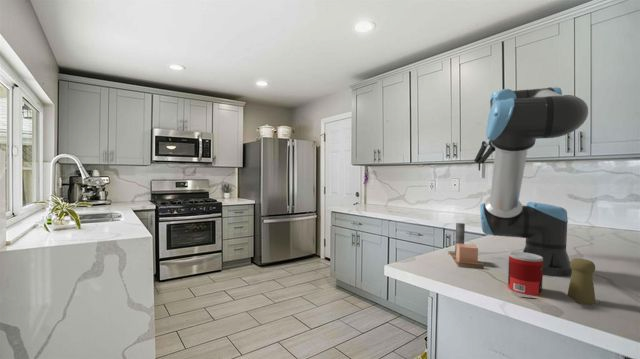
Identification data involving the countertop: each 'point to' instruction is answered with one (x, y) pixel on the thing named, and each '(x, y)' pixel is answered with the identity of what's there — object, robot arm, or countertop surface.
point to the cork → (582, 281)
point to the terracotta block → (466, 253)
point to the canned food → (525, 273)
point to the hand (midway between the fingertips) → (498, 178)
